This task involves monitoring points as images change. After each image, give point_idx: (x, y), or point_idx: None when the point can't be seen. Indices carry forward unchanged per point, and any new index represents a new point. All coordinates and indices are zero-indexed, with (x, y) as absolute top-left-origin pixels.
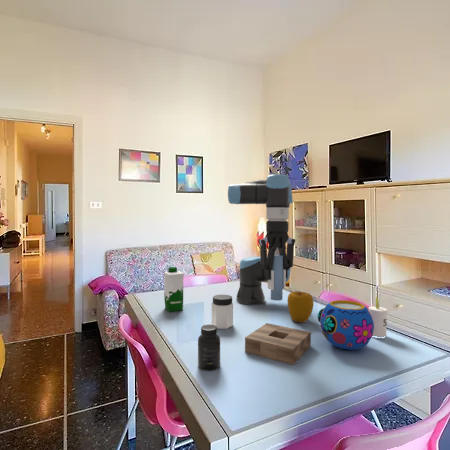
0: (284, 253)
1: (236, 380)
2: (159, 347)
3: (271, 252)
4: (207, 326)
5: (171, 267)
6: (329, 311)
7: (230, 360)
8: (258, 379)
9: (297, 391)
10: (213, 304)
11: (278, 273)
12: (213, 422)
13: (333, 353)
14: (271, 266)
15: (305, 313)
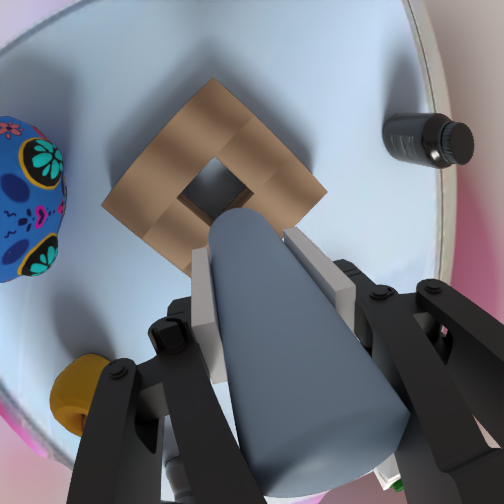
0: (231, 497)
1: (363, 60)
2: (452, 244)
3: (472, 429)
4: (464, 150)
5: (403, 488)
6: (17, 192)
7: (356, 147)
8: (320, 47)
9: None
10: None
11: (283, 272)
12: None
13: (73, 143)
14: (380, 310)
15: (80, 363)
